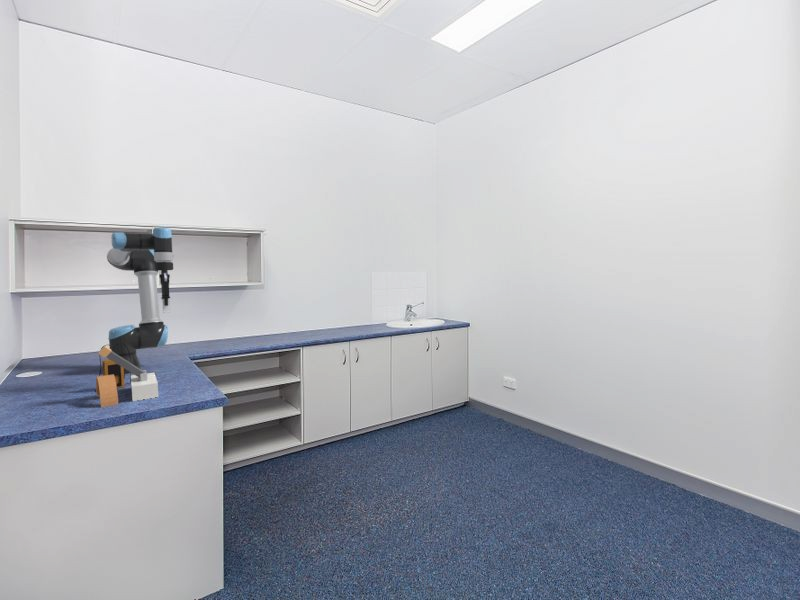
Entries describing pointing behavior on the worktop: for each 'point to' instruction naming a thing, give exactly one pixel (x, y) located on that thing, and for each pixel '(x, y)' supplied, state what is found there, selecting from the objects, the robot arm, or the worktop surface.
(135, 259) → the robot arm
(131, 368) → the lever
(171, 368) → the worktop surface
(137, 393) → the white rectangular slab
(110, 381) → the arch
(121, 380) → the multimeter
